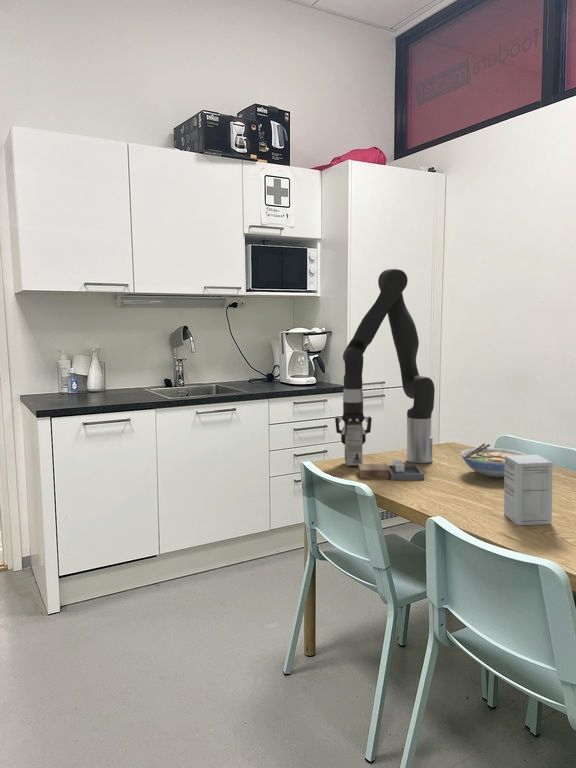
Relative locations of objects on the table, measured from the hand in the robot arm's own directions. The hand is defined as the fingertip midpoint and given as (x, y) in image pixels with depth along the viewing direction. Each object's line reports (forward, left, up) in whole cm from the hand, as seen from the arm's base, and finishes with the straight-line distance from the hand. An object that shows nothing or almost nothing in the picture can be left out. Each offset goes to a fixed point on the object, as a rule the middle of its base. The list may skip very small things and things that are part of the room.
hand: (353, 443), depth 217 cm
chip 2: (-13, +17, -6) cm, 23 cm away
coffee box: (0, 0, -7) cm, 7 cm away
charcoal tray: (-17, +15, -8) cm, 24 cm away
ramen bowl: (-48, +16, -8) cm, 51 cm away
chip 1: (-13, +13, -6) cm, 19 cm away
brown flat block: (-6, +15, -8) cm, 18 cm away
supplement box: (-42, +62, -8) cm, 75 cm away
